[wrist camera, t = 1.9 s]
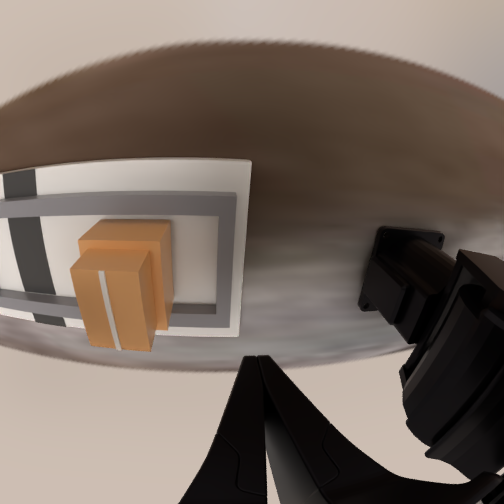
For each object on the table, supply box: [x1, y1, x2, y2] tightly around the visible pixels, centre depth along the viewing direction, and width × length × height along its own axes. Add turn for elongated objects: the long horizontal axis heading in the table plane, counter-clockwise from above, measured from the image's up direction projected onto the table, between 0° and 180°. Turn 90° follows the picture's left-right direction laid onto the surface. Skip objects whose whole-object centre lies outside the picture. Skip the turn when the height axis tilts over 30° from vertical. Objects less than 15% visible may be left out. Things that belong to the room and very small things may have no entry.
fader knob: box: [70, 219, 174, 352], centre depth 12 cm, size 4×5×5 cm
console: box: [0, 157, 252, 337], centre depth 14 cm, size 20×11×2 cm, turn 86°
